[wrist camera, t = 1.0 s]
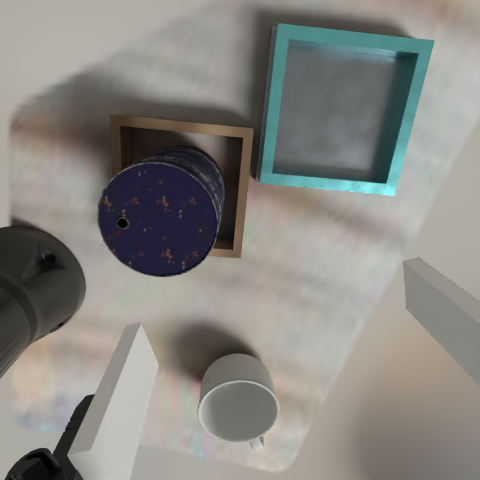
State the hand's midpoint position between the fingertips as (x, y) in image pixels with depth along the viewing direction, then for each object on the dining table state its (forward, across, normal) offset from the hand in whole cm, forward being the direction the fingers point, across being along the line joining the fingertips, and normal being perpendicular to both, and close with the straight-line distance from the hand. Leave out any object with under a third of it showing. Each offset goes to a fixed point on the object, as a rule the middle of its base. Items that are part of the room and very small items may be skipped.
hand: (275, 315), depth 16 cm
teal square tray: (+26, +12, +6) cm, 29 cm away
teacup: (+26, -7, -28) cm, 39 cm away
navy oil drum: (+27, -7, +3) cm, 28 cm away
